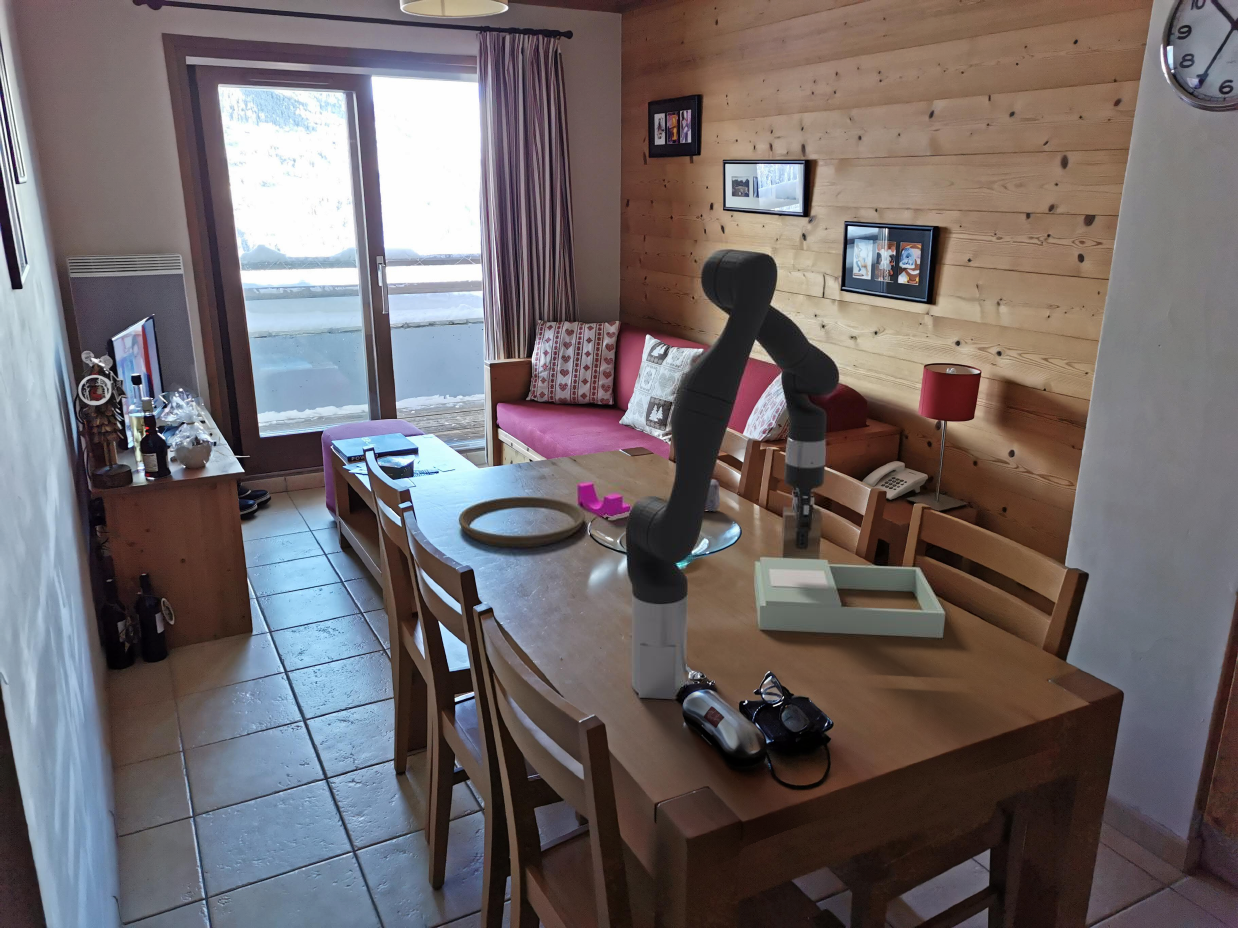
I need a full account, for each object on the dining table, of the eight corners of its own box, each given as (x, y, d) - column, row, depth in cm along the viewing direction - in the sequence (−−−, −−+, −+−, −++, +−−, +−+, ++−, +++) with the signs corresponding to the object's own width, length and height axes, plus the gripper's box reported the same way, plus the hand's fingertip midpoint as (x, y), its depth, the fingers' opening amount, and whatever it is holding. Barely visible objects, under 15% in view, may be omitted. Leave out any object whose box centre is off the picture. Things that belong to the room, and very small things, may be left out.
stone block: (672, 514, 235) (673, 477, 232) (679, 509, 239) (680, 473, 236) (714, 521, 229) (715, 484, 227) (721, 515, 233) (722, 479, 231)
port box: (942, 637, 167) (946, 607, 166) (759, 629, 171) (760, 599, 169) (917, 589, 188) (919, 562, 187) (754, 583, 192) (755, 556, 190)
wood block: (819, 559, 175) (821, 515, 172) (782, 558, 175) (785, 514, 173) (816, 550, 179) (819, 508, 176) (781, 549, 180) (783, 507, 177)
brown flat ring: (562, 505, 242) (562, 489, 241) (602, 544, 215) (602, 526, 213) (448, 519, 231) (447, 502, 230) (475, 562, 204) (474, 543, 202)
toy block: (630, 522, 229) (630, 494, 227) (610, 527, 226) (610, 499, 224) (597, 506, 241) (597, 480, 239) (577, 511, 238) (577, 484, 236)
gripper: (829, 471, 165) (823, 558, 169) (820, 451, 178) (815, 531, 183) (788, 470, 165) (783, 556, 170) (782, 450, 179) (778, 530, 184)
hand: (800, 543), depth 177 cm, fingers closed on wood block, 4 cm apart
